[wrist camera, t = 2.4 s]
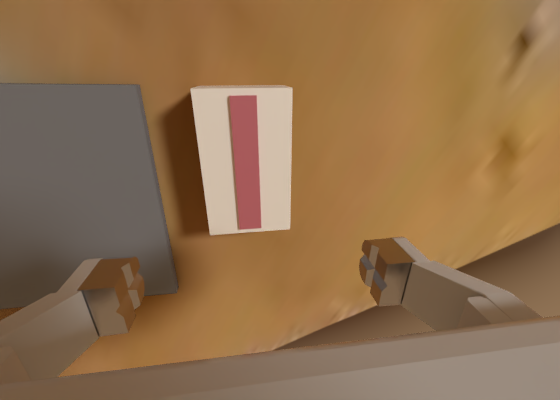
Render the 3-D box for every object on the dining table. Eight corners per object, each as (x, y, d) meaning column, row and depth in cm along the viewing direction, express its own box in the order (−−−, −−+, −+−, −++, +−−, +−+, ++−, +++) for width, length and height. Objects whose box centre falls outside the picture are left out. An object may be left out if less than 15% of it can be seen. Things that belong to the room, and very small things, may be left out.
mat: (-143, 82, 16) (-161, 82, 15) (139, 84, 18) (135, 85, 18) (-9, 303, 24) (-17, 310, 23) (178, 287, 26) (176, 293, 25)
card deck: (199, 85, 19) (189, 88, 15) (282, 85, 20) (293, 87, 16) (214, 210, 23) (209, 236, 20) (282, 205, 24) (290, 230, 20)
